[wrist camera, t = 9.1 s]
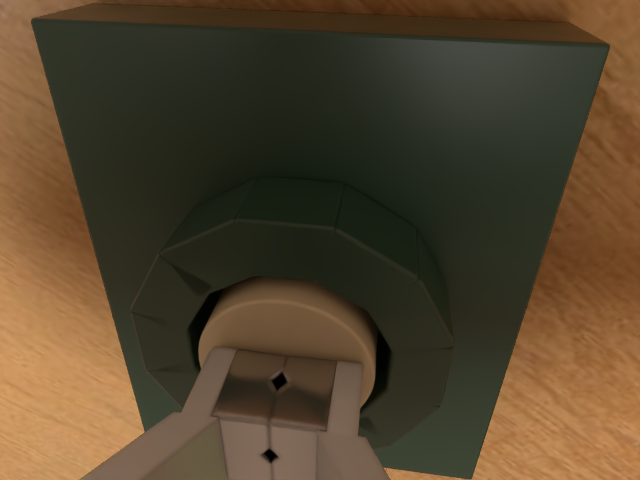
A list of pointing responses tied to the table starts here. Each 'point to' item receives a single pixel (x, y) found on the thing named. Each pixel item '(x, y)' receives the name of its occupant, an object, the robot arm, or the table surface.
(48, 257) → the table surface
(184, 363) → the control block
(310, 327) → the button
